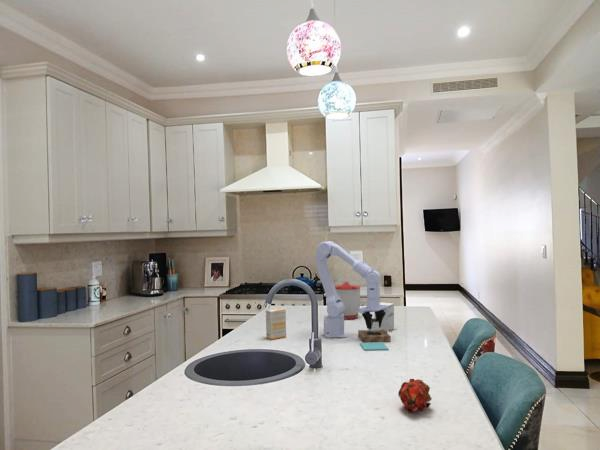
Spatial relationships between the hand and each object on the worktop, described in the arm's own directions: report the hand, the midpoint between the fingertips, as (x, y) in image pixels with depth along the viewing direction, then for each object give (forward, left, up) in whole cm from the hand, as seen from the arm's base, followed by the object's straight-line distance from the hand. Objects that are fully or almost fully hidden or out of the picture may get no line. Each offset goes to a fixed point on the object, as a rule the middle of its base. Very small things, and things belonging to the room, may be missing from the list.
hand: (373, 327), depth 193 cm
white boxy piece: (+9, +17, -5) cm, 20 cm away
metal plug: (0, 0, -4) cm, 4 cm away
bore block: (0, 0, -5) cm, 5 cm away
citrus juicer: (-6, +46, -5) cm, 47 cm away
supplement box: (-44, +6, -5) cm, 45 cm away
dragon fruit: (-5, -74, -5) cm, 74 cm away
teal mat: (-3, -13, -5) cm, 14 cm away
